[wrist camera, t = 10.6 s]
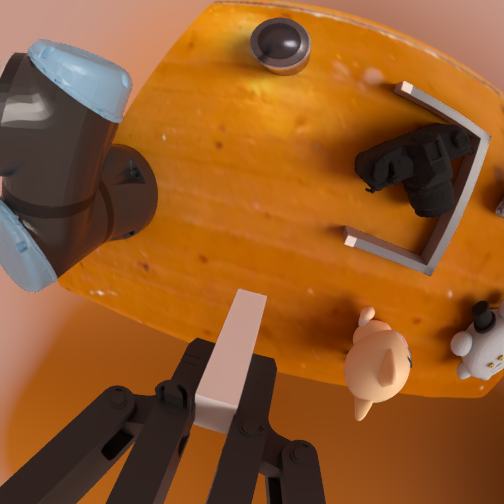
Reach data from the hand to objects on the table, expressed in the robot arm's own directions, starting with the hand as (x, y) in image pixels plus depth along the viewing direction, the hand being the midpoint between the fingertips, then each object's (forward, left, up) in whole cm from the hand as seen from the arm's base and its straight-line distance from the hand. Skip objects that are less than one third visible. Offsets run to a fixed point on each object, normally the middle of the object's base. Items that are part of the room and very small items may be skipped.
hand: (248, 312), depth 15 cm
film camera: (+14, +9, -24) cm, 29 cm away
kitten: (+20, -17, -24) cm, 36 cm away
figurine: (+44, -9, -24) cm, 51 cm away
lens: (-6, +18, -24) cm, 30 cm away
